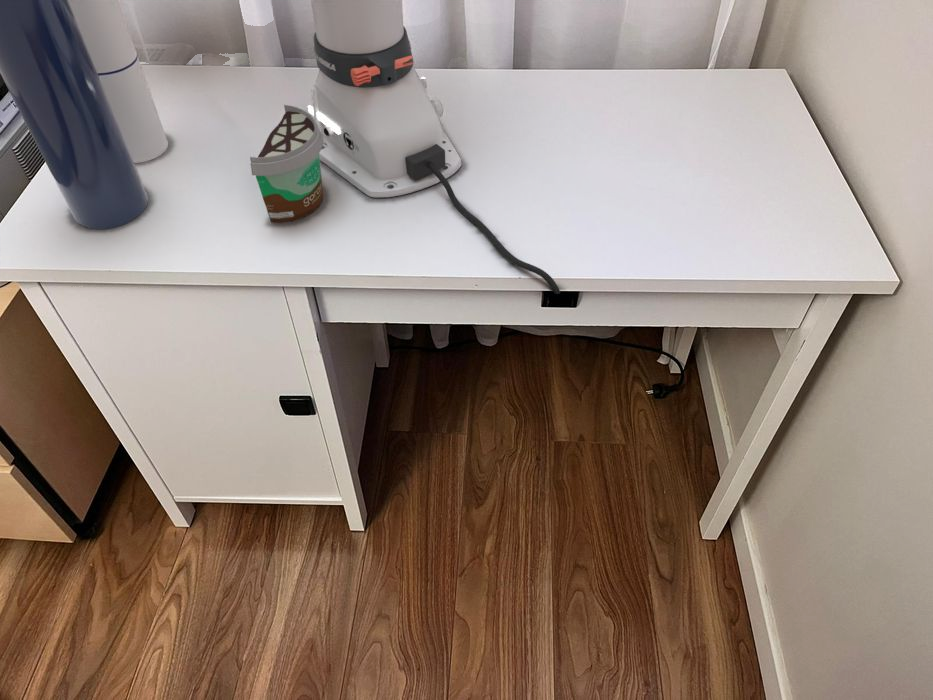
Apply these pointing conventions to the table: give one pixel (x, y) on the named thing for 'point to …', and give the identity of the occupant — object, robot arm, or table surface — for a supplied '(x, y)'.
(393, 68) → the robot arm
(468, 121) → the table surface
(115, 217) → the vase
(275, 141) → the food container
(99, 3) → the cylindrical container
